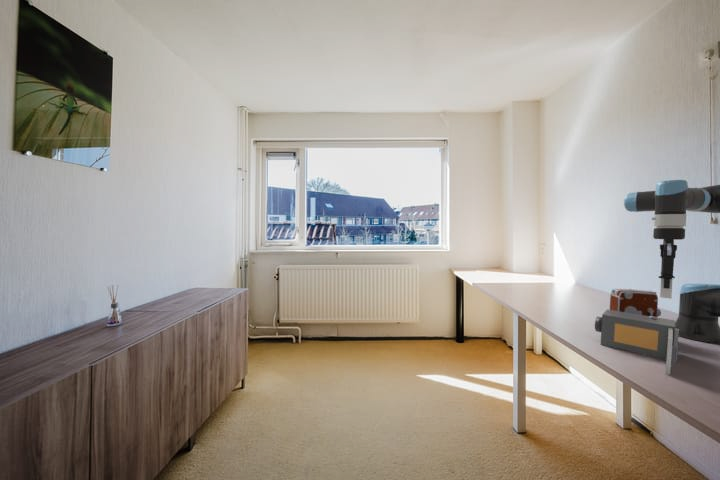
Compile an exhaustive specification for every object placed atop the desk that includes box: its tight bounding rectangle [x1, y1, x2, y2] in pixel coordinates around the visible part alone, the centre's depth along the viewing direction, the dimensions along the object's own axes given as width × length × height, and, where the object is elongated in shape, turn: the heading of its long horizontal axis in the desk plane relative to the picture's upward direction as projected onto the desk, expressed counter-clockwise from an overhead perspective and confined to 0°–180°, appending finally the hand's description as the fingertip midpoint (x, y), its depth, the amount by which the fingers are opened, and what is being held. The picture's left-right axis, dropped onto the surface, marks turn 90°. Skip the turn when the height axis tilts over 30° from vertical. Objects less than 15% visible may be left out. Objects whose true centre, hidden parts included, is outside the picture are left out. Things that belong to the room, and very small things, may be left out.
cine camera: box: [609, 288, 662, 318], centre depth 134 cm, size 9×19×20 cm, turn 78°
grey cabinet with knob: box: [594, 309, 680, 362], centre depth 120 cm, size 13×24×13 cm, turn 45°
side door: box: [665, 328, 677, 375], centre depth 103 cm, size 2×16×11 cm, turn 135°
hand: (665, 297), depth 106 cm, fingers closed
